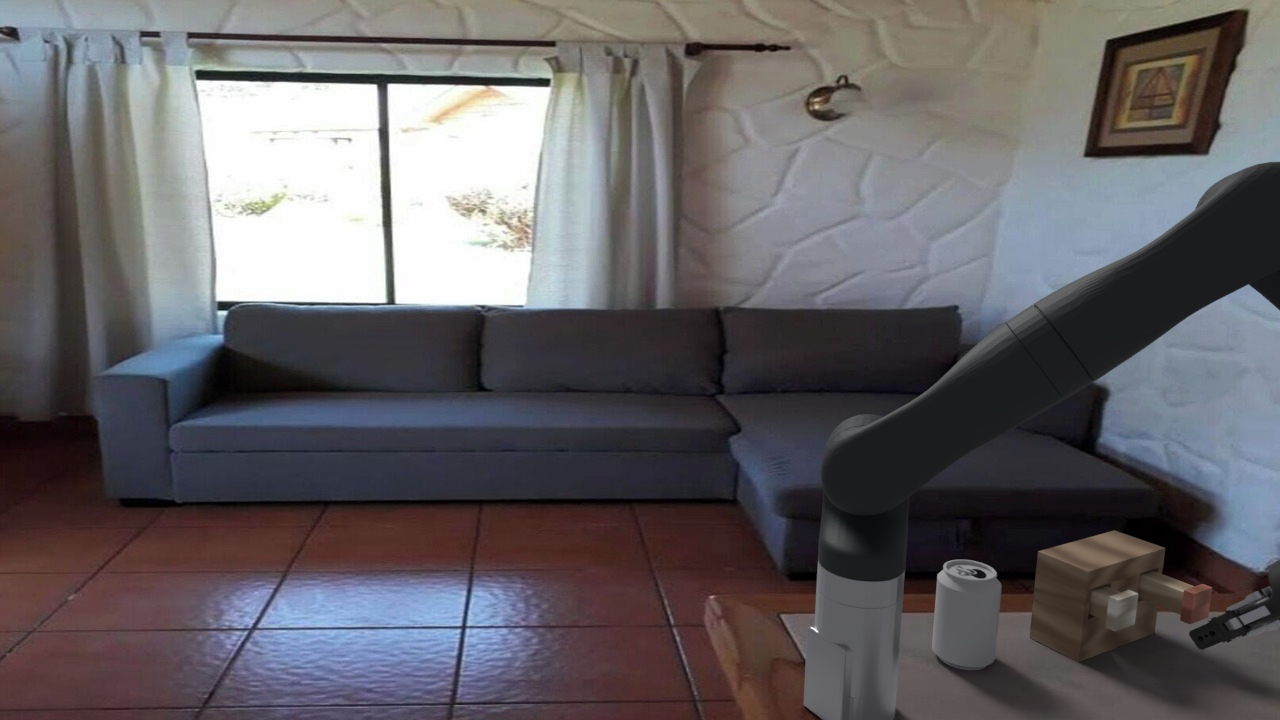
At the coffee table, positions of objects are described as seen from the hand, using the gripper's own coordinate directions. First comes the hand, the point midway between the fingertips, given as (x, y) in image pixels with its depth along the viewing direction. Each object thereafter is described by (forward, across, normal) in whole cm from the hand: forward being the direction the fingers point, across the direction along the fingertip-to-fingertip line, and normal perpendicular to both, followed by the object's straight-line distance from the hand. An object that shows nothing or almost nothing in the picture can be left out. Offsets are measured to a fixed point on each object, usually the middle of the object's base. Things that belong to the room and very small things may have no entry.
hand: (1197, 640), depth 98 cm
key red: (+8, -10, -5) cm, 14 cm away
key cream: (+10, 0, -7) cm, 13 cm away
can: (+19, +15, -8) cm, 26 cm away
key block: (+16, -5, -5) cm, 18 cm away
